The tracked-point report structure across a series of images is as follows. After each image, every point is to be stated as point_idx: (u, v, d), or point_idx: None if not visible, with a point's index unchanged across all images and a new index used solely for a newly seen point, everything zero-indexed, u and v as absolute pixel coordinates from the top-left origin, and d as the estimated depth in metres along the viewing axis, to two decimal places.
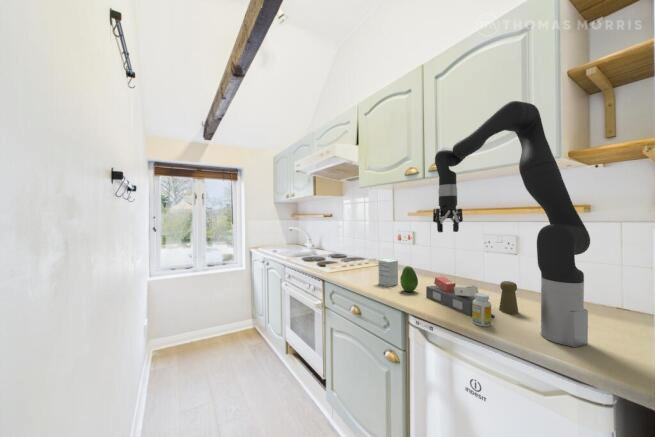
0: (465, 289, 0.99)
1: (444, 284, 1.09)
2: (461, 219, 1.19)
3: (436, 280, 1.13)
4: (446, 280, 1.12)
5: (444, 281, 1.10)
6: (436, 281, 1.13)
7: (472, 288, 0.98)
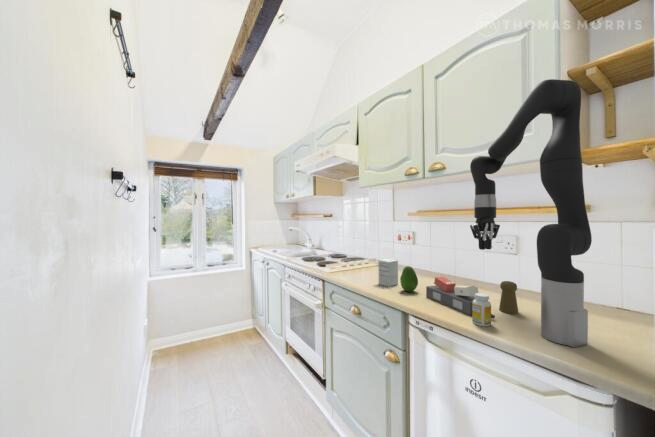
0: (465, 289, 0.99)
1: (444, 284, 1.09)
2: (494, 235, 1.07)
3: (436, 280, 1.13)
4: (446, 280, 1.12)
5: (444, 281, 1.10)
6: (436, 281, 1.13)
7: (472, 288, 0.98)
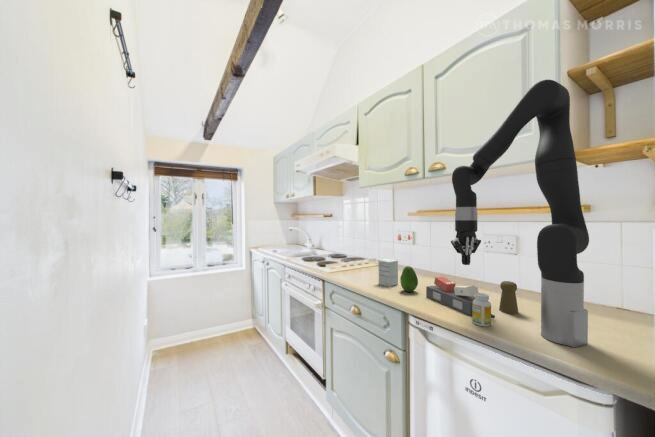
0: (465, 289, 0.99)
1: (444, 284, 1.09)
2: (473, 250, 1.01)
3: (436, 280, 1.13)
4: (446, 280, 1.12)
5: (444, 281, 1.10)
6: (436, 281, 1.13)
7: (472, 288, 0.98)
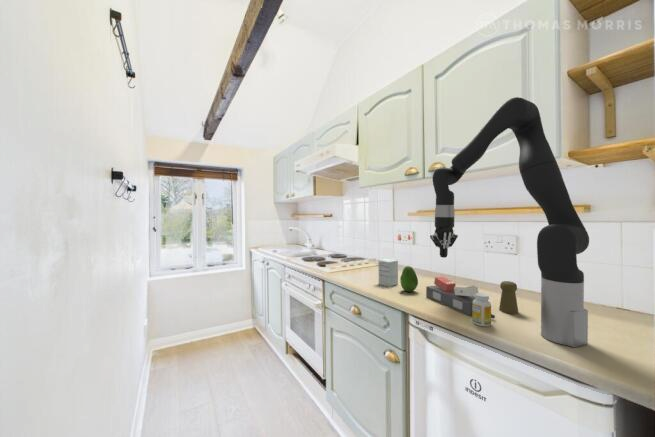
0: (465, 289, 0.99)
1: (444, 284, 1.09)
2: (450, 244, 1.11)
3: (436, 280, 1.13)
4: (446, 280, 1.12)
5: (444, 281, 1.10)
6: (436, 281, 1.13)
7: (472, 288, 0.98)
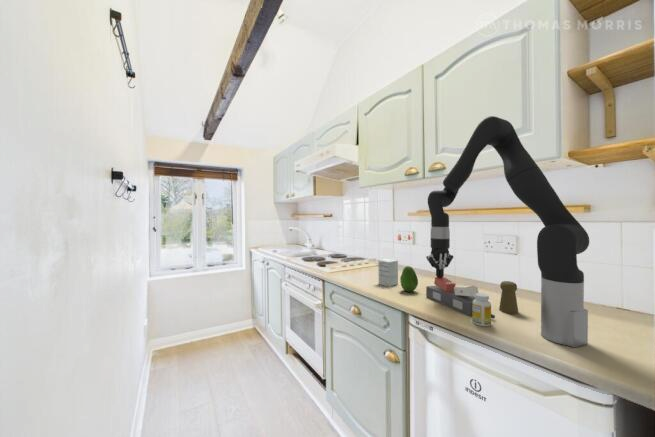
0: (465, 289, 0.99)
1: (444, 284, 1.09)
2: (446, 264, 1.14)
3: (436, 280, 1.13)
4: (446, 280, 1.12)
5: (444, 281, 1.10)
6: (436, 281, 1.13)
7: (472, 288, 0.98)
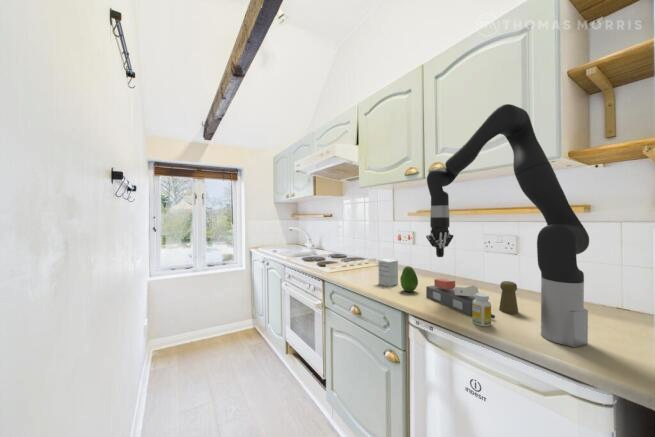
0: (465, 289, 0.99)
1: (444, 282, 1.09)
2: (446, 244, 1.13)
3: (436, 281, 1.13)
4: (446, 279, 1.12)
5: (443, 280, 1.11)
6: (436, 282, 1.13)
7: (472, 288, 0.98)
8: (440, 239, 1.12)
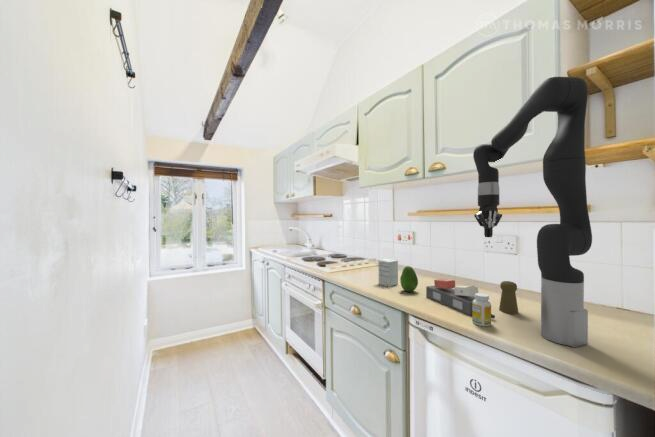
0: (465, 289, 0.99)
1: (443, 282, 1.09)
2: (495, 223, 1.07)
3: (436, 282, 1.13)
4: (446, 279, 1.12)
5: (443, 280, 1.11)
6: (436, 283, 1.13)
7: (472, 288, 0.98)
8: (489, 218, 1.05)
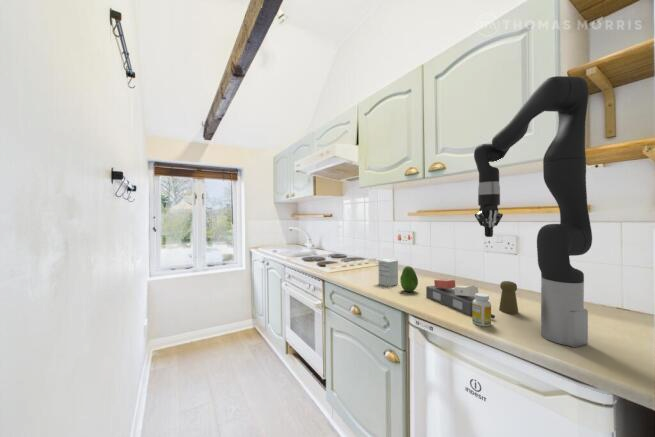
0: (465, 289, 0.99)
1: (443, 282, 1.09)
2: (496, 223, 1.07)
3: (436, 282, 1.13)
4: None
5: (443, 280, 1.11)
6: (436, 283, 1.13)
7: (472, 288, 0.98)
8: (490, 217, 1.05)
